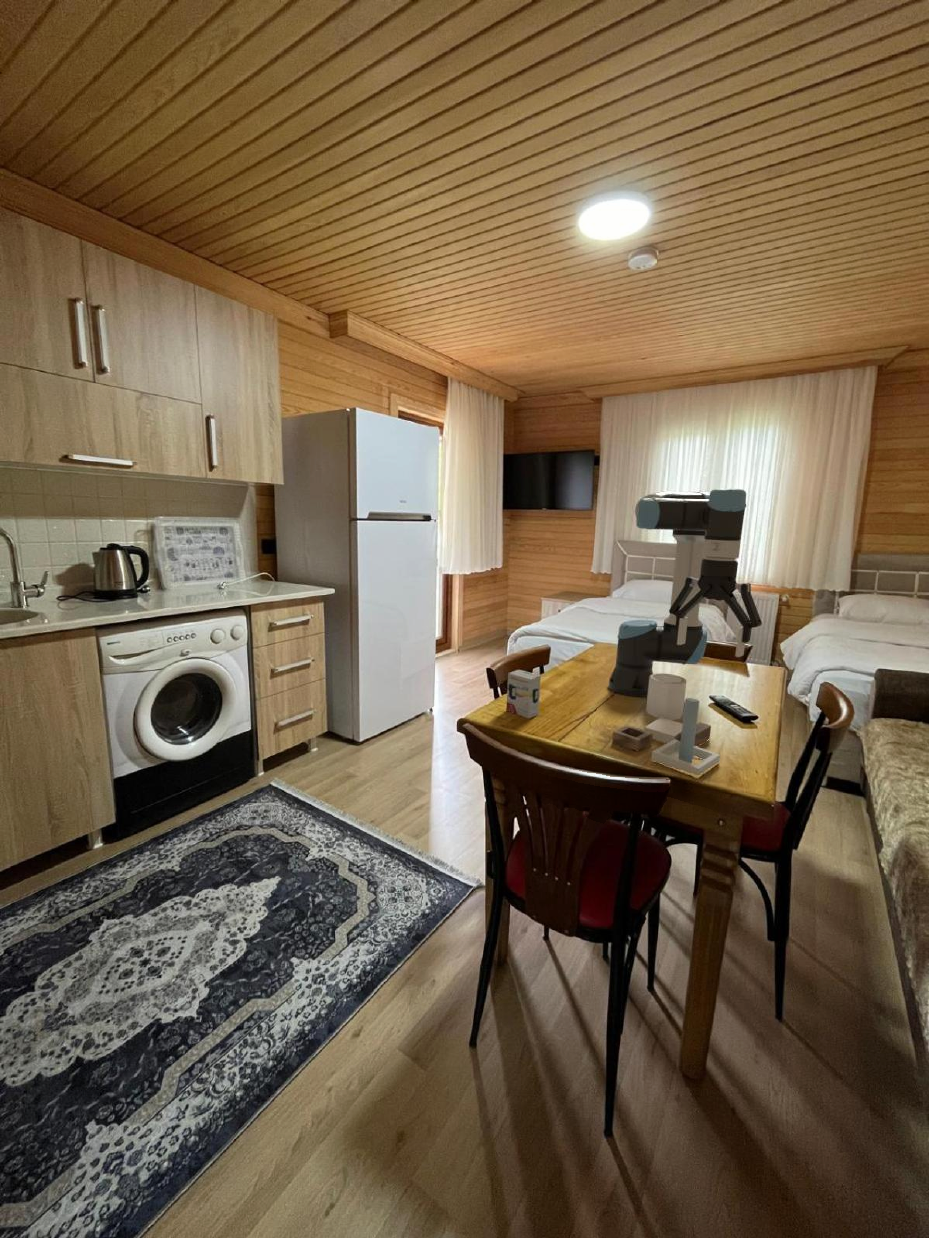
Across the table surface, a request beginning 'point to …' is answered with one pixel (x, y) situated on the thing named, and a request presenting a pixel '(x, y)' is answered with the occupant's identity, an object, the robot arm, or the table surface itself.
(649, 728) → the white flat block
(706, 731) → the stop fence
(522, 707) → the ink box
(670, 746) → the tray
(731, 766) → the table surface
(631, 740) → the socket block
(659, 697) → the mug
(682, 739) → the dowel
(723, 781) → the table surface
